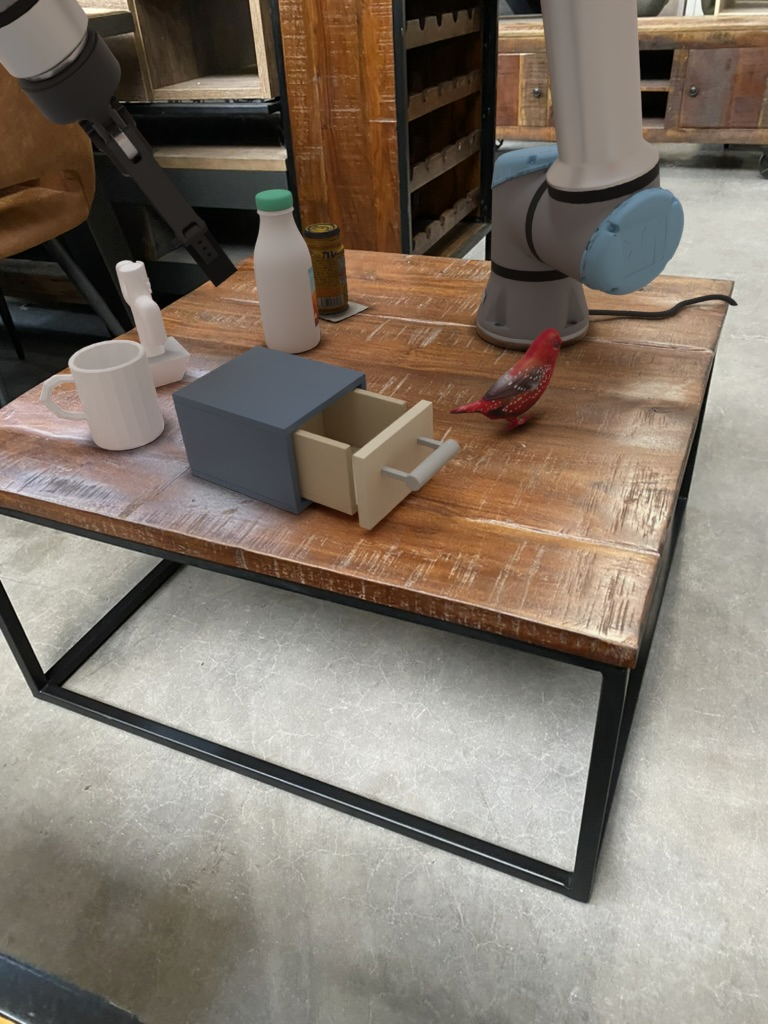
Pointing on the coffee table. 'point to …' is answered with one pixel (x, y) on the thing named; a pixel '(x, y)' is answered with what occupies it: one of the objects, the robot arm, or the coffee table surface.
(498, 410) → the decorative bird figurine
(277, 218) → the milk bottle
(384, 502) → the drawer
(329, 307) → the condiment
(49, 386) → the mug
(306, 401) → the cabinet
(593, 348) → the coffee table surface
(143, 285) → the figurine
